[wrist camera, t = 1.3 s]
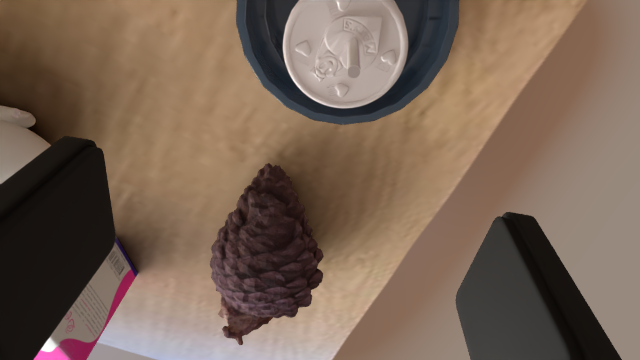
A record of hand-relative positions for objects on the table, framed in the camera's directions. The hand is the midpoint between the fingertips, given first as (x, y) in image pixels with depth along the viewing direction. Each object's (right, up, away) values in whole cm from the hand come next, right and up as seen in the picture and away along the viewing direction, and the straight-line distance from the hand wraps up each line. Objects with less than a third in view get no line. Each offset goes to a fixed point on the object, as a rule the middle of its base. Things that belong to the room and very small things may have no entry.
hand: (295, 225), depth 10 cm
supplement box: (-23, -7, +34) cm, 42 cm away
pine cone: (-4, -4, +30) cm, 31 cm away
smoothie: (+2, +13, +19) cm, 23 cm away
